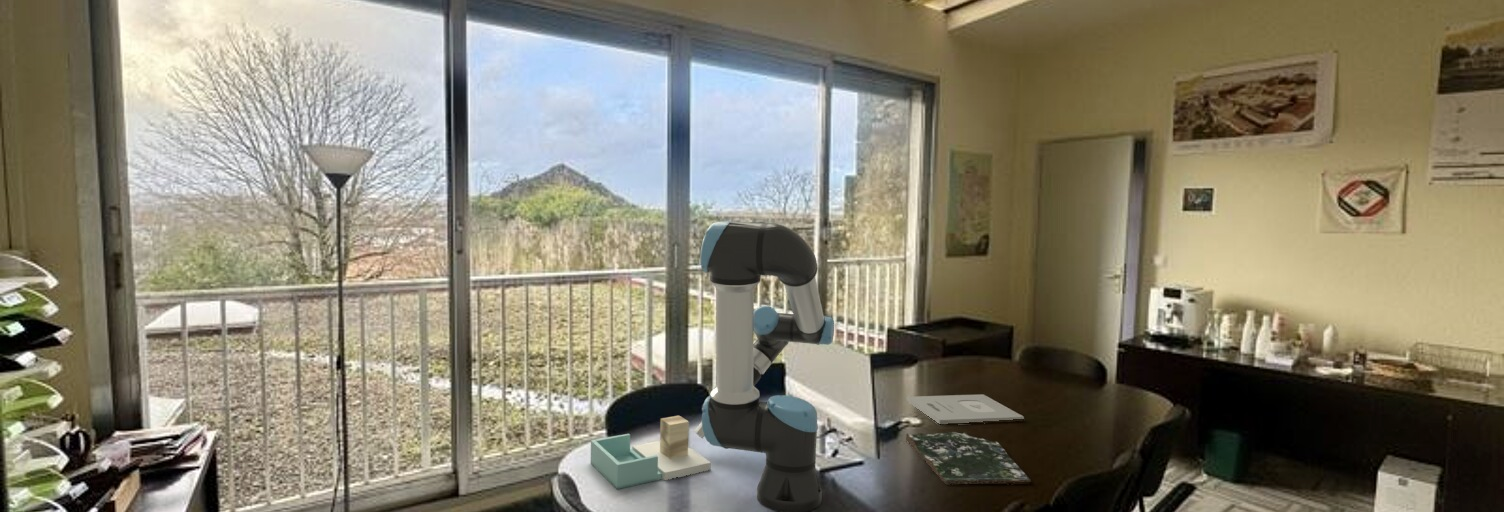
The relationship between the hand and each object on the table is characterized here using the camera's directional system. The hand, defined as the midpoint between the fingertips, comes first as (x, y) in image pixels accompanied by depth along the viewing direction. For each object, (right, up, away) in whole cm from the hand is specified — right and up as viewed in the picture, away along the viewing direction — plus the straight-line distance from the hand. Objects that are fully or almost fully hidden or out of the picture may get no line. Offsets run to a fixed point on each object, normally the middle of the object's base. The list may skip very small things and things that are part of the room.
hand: (698, 434), depth 179 cm
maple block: (-6, -4, -4) cm, 8 cm away
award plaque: (+86, -5, +47) cm, 98 cm away
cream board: (-7, -6, -4) cm, 10 cm away
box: (-18, -6, -11) cm, 22 cm away
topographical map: (+74, -9, +4) cm, 75 cm away
